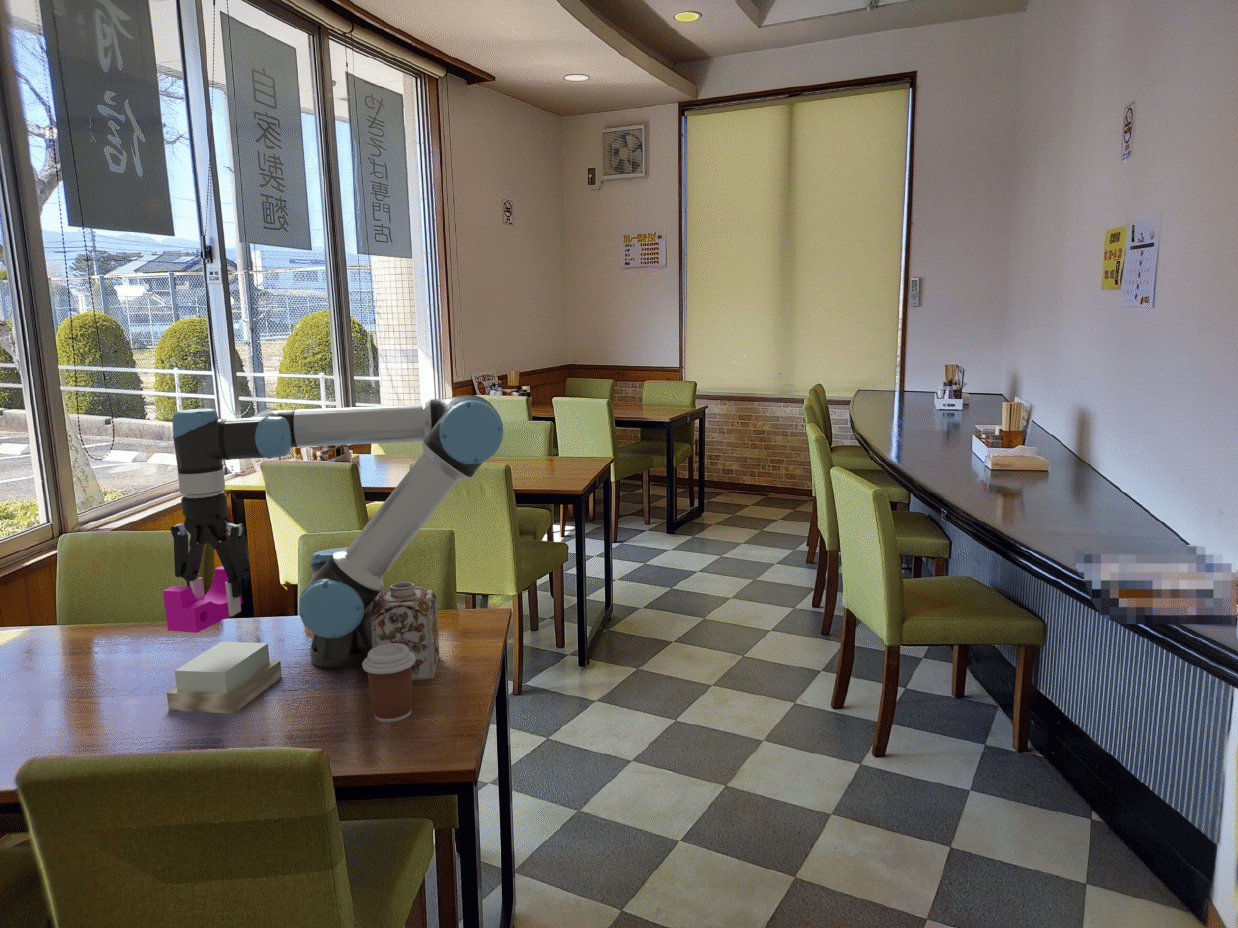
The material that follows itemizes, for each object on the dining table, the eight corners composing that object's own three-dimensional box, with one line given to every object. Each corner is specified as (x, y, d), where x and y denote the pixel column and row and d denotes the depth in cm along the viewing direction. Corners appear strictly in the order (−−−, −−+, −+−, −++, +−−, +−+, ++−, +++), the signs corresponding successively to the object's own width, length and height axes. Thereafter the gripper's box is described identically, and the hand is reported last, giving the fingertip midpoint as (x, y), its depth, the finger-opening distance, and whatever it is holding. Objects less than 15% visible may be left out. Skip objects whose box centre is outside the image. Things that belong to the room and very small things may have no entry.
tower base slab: (282, 679, 168) (280, 660, 167) (233, 716, 153) (231, 695, 152) (223, 676, 170) (220, 658, 170) (169, 713, 155) (166, 692, 154)
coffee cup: (393, 698, 157) (388, 637, 155) (430, 708, 152) (425, 645, 150) (355, 718, 149) (350, 654, 147) (393, 730, 144) (387, 664, 142)
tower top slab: (269, 662, 167) (267, 643, 166) (226, 693, 153) (224, 672, 152) (223, 660, 168) (221, 641, 168) (177, 690, 155) (174, 670, 154)
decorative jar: (374, 684, 163) (366, 595, 160) (383, 660, 175) (376, 577, 172) (436, 679, 165) (430, 591, 162) (441, 656, 176) (436, 574, 173)
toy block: (197, 632, 149) (191, 592, 148) (167, 630, 151) (162, 590, 150) (253, 604, 164) (249, 567, 162) (226, 602, 165) (221, 565, 164)
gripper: (263, 489, 157) (276, 607, 161) (169, 489, 160) (184, 604, 164) (239, 497, 149) (253, 621, 153) (141, 497, 153) (157, 618, 156)
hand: (217, 612), depth 159 cm, fingers closed on toy block, 7 cm apart
